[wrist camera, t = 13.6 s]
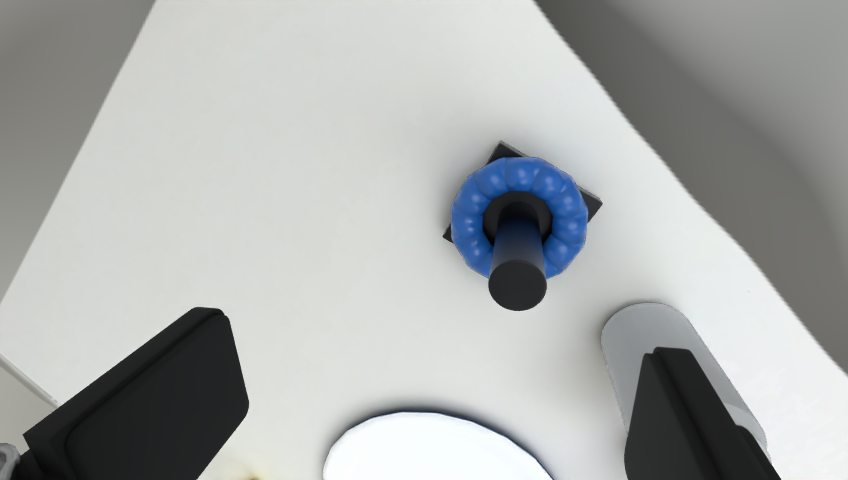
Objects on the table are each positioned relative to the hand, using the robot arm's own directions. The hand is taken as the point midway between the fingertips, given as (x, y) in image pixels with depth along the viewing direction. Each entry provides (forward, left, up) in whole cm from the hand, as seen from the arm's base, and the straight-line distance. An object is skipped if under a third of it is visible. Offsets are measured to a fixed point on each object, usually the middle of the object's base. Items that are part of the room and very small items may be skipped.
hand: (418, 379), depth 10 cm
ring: (+3, -2, -20) cm, 21 cm away
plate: (+14, -32, -23) cm, 42 cm away
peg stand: (+4, -2, -23) cm, 23 cm away
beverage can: (+17, -5, -23) cm, 29 cm away
